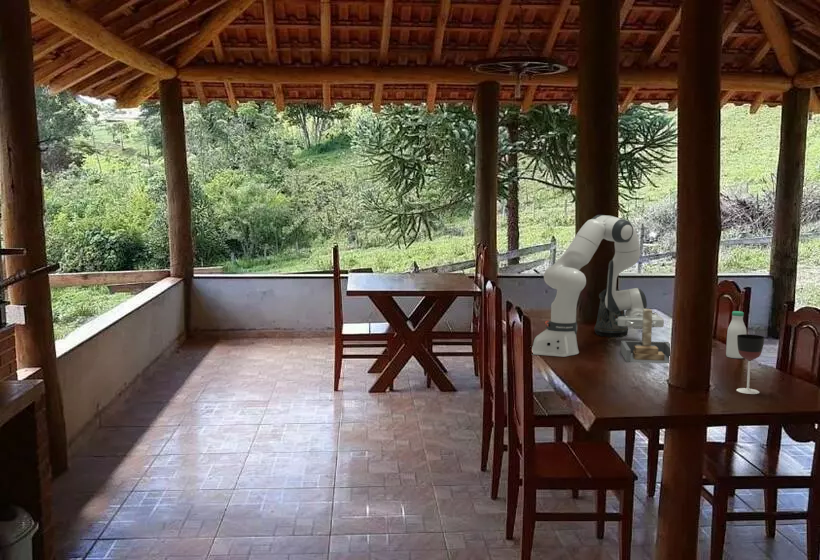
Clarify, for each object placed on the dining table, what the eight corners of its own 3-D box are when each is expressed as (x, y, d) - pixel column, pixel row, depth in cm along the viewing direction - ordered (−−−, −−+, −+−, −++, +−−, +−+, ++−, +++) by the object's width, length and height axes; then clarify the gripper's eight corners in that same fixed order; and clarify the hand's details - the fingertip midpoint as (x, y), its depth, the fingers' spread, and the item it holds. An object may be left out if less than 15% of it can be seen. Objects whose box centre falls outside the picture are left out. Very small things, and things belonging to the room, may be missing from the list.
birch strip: (643, 356, 299) (644, 310, 296) (641, 353, 304) (643, 308, 301) (650, 356, 298) (652, 310, 296) (648, 353, 303) (650, 308, 301)
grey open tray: (626, 365, 289) (626, 350, 288) (620, 354, 308) (620, 340, 307) (676, 367, 286) (677, 351, 285) (667, 356, 305) (668, 341, 304)
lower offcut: (634, 359, 293) (634, 353, 293) (632, 356, 299) (632, 350, 299) (664, 360, 291) (664, 354, 291) (661, 357, 297) (662, 351, 297)
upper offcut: (635, 353, 293) (636, 348, 293) (634, 351, 298) (634, 345, 298) (658, 354, 292) (658, 348, 291) (656, 351, 297) (656, 346, 296)
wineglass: (764, 394, 246) (767, 339, 243) (738, 393, 247) (740, 338, 245) (757, 388, 253) (760, 334, 251) (731, 387, 255) (734, 334, 252)
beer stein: (625, 331, 360) (627, 284, 357) (630, 339, 341) (632, 289, 339) (592, 330, 363) (594, 283, 360) (596, 338, 344) (597, 288, 341)
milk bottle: (747, 359, 299) (750, 313, 296) (728, 358, 300) (730, 312, 298) (742, 355, 306) (745, 310, 304) (724, 354, 308) (726, 310, 305)
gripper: (615, 312, 326) (618, 317, 313) (660, 313, 323) (666, 318, 309) (614, 325, 327) (618, 331, 313) (660, 326, 323) (665, 332, 310)
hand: (642, 324), depth 311 cm, fingers open, 8 cm apart
